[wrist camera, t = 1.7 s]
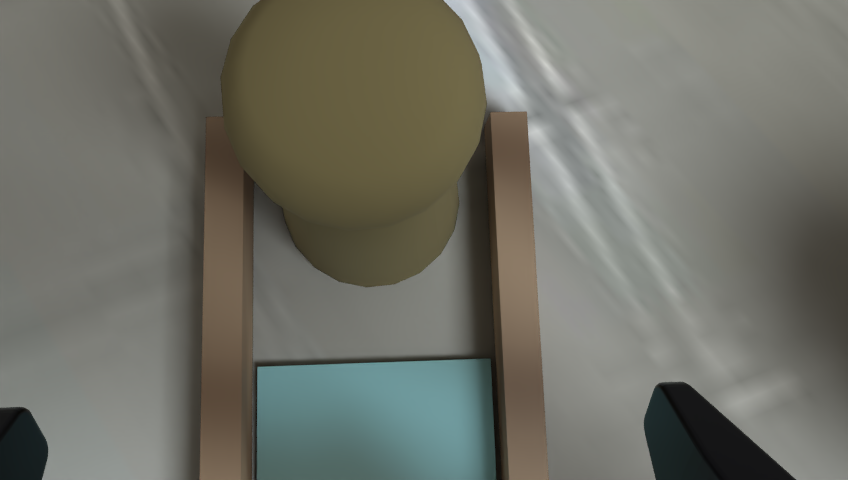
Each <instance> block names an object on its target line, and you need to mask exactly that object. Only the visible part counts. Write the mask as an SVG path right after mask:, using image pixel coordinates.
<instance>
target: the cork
mask: <svg viewBox="0 0 848 480" xmlns="http://www.w3.org/2000/svg"><path fill="white" fill-rule="evenodd" d="M221 90H222V104H223V118H224V129H225V131H226V133H227V136H228V138H229V141H230V143H231V145H232V148H233V150H234V152H235V155H236V157H237V159H238V162H239V164H240V166H241V167H242V168H243V169H244V170H245V171H246V173H247V174H248V175H249V176H250V177H251V178H252V179H253V180H254V181H255V183H256V184H257V185H258V186H259V187H260V188H261V189H262V190H263V191H264V193H265V194H266V195H267V196H268V197H269V198H270V199H271V200H272V201H273V202H274V203H276V204H277V205H279V206H281V207H283V213H284V218H285V222H286V225H287V227H288V229H289V231H290V234H291V236H292V238H293V241H294V243H295V245H296V247H297V248H298V249H299V251H300V252H301V253H302V254H303V255H304V256H305V257H306V258H307V260H308V261H309V262H310V263H311V264H312V265H313V266H314V267H315V268H316V269H318V270H320V271H322V272H323V273H325V274H327V275H329V276H330V277H332V278H334V279H336V280H337V281H339V282H344V283H349V284H354V285H358V286H363V287H373V286H382V285H391V284H396V283H398V282H400V281H403V280H405V279H407V278H409V277H412V276H414V275H416V274H418V273H420V272H421V271H423V270H424V269H425V268H426V267H427V266H428V265H429V264H430V263H431V262H432V261H434V260H435V259H436V258H437V257H438V256H439V255H440V254H441V253H442V251H443V249H444V247H445V246H446V244H447V242H448V240H449V238H450V237H451V235H452V233H453V231H454V228H455V223H456V218H457V213H458V208H459V197H458V188H457V181H458V180H459V178H460V176H461V174H462V173H463V171H464V169H465V168H466V166H467V164H468V162H469V161H470V159H471V157H472V155H473V154H474V152H475V150H476V148H477V146H478V144H479V141H480V136H481V131H482V126H483V121H484V116H485V111H486V105H487V101H486V94H485V86H484V79H483V71H482V64H481V61H480V57H479V54H478V52H477V50H476V48H475V45H474V43H473V41H472V39H471V37H470V35H469V33H468V31H467V29H466V27H465V25H464V23H463V21H462V19H461V18H460V17H459V16H458V15H457V14H456V13H455V12H454V11H453V10H452V9H451V8H450V7H449V6H448V5H447V4H446V3H445V2H444V1H443V0H260V1H259V2H258V3H256V4H255V5H254V6H253V7H252V8H251V10H250V11H249V13H248V14H247V16H246V17H245V19H244V20H243V22H242V23H241V25H240V26H239V28H238V29H237V31H236V32H235V34H234V35H233V37H232V38H231V41H230V45H229V48H228V52H227V56H226V59H225V63H224V67H223V71H222V74H221Z"/></svg>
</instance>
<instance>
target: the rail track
mask: <svg viewBox="0 0 848 480" xmlns="http://www.w3.org/2000/svg"><path fill="white" fill-rule="evenodd" d="M484 133H485V153H486V174H487V194H488V214H489V235H490V255H491V275H492V296H493V316H494V336H495V356H496V377H497V397H498V417H499V438H500V458H501V478H502V480H549V476H548V459H547V443H546V426H545V409H544V392H543V376H542V359H541V342H540V325H539V309H538V292H537V275H536V258H535V242H534V225H533V208H532V192H531V175H530V158H529V141H528V125H527V112H490V115H489V117H488V119H487V122H486V124H485V126H484ZM253 208H254V180H253V179H252V178H251V177H250V176H249V175H248V174H247V173H246V171H245V170H244V169H243V168H242V167H241V166H240V164H239V162H238V159H237V157H236V155H235V152H234V150H233V148H232V145H231V143H230V141H229V138H228V136H227V133H226V131H225V129H224V118H223V117H206V152H205V208H204V264H203V319H202V375H201V431H200V480H252V368H253ZM257 480H496V462H495V441H494V421H493V400H492V379H491V359H490V358H486V359H458V360H430V361H402V362H374V363H346V364H318V365H290V366H262V367H257Z"/></svg>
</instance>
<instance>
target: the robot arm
mask: <svg viewBox="0 0 848 480" xmlns="http://www.w3.org/2000/svg"><path fill="white" fill-rule="evenodd" d="M644 430H645V436H646V440H647V444H648V448H649V452H650V457H651V461H652V465H653V469H654V473H655V478H656V480H796V479H795V478H794V477H792V476H791V475H790V474H789V473H788V472H787V471H786V470H785V469H783V468H782V467H781V466H780V465H779V464H778V463H777V462H776V461H774V460H773V459H772V458H771V457H770V456H769V455H768V454H767V453H765V452H764V451H763V450H762V449H761V448H760V447H759V446H758V445H757V444H755V443H754V442H753V441H752V440H751V439H750V438H749V437H748V436H746V435H745V434H744V433H743V432H742V431H741V430H740V429H739V428H737V427H736V426H735V425H734V424H733V423H732V422H731V421H730V420H728V419H727V418H726V417H725V416H724V415H723V414H722V413H721V412H719V411H718V410H717V409H716V408H715V407H714V406H713V405H712V404H710V403H709V402H708V401H707V400H706V399H705V398H704V397H703V396H701V395H700V394H699V393H698V392H697V391H696V390H695V389H694V388H692V387H691V386H690V385H688V384H687V383H684V382H662V383H659V384H657V385H656V386H655V388H654V391H653V394H652V397H651V400H650V403H649V406H648V409H647V412H646V414H645V418H644ZM47 457H48V445H47V441H46V439H45V437H44V435H43V434H42V432H41V430H40V428H39V427H38V425H37V423H36V421H35V419H34V418H33V416H32V414H31V412H30V411H29V410H28V409H26V408H24V407H9V408H0V480H42V477H43V473H44V469H45V466H46V462H47Z"/></svg>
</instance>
